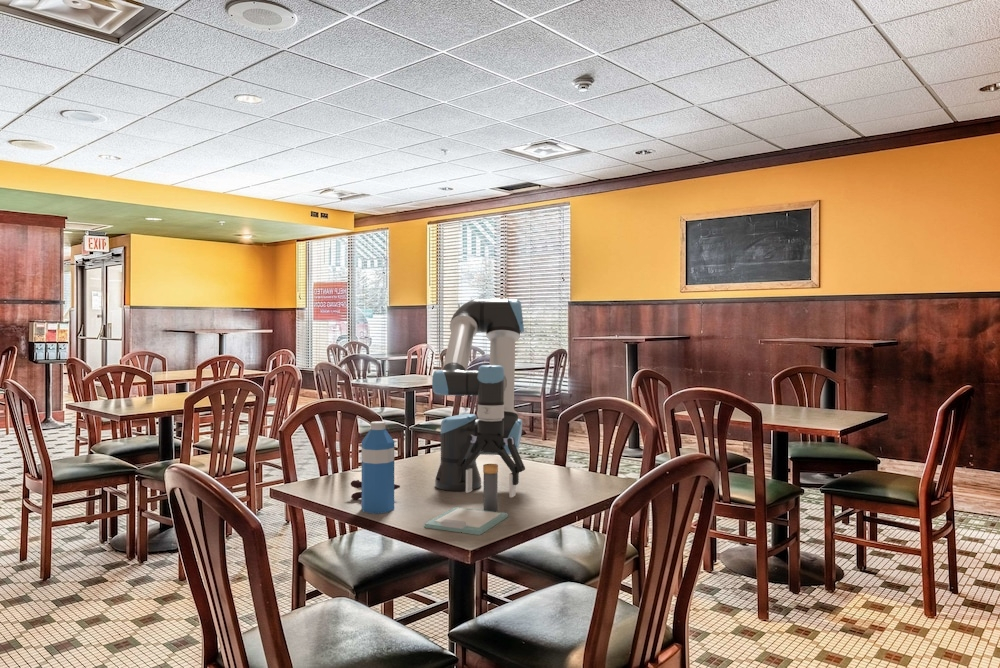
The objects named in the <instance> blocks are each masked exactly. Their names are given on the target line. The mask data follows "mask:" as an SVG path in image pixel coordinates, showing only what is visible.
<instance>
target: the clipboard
mask: <svg viewBox="0 0 1000 668" xmlns="http://www.w3.org/2000/svg"><path fill="white" fill-rule="evenodd" d="M508 516H509V513H508V512H499V511H497V512H493V511H485V510H483V509H476V508H467V507H466V508H465V507H461V506H460V507H458V506H455V507H453V508H452V509H450V510H448V511H445V512H444V513H441V514H440V515H438V516H436V517H434V518H432V519H430V520H428V521H426V522H425V523H424V526H423V527H424V528H427V529H431V530H433V529H434V530H440V531H449V532H454V533H461V532H462V533H463V534H470V535H475V536H481V535H483V534H484V533H485V532H487V531H488V530H490V529H491V528H493V527H494V526H496V525H497V524H499V523H501V522H502V521H504V520H505V519H507V518H508Z"/></svg>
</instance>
